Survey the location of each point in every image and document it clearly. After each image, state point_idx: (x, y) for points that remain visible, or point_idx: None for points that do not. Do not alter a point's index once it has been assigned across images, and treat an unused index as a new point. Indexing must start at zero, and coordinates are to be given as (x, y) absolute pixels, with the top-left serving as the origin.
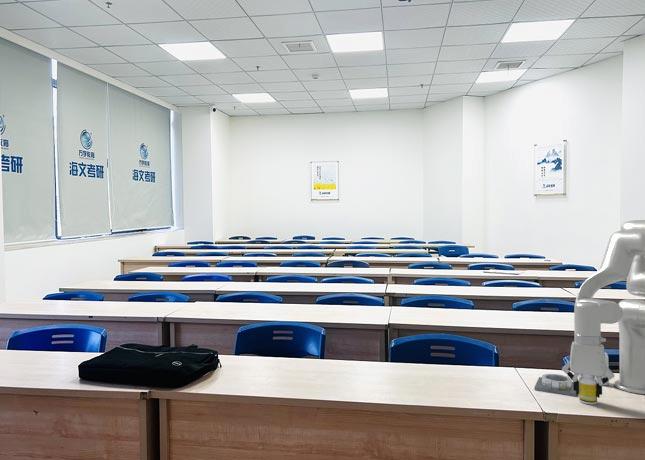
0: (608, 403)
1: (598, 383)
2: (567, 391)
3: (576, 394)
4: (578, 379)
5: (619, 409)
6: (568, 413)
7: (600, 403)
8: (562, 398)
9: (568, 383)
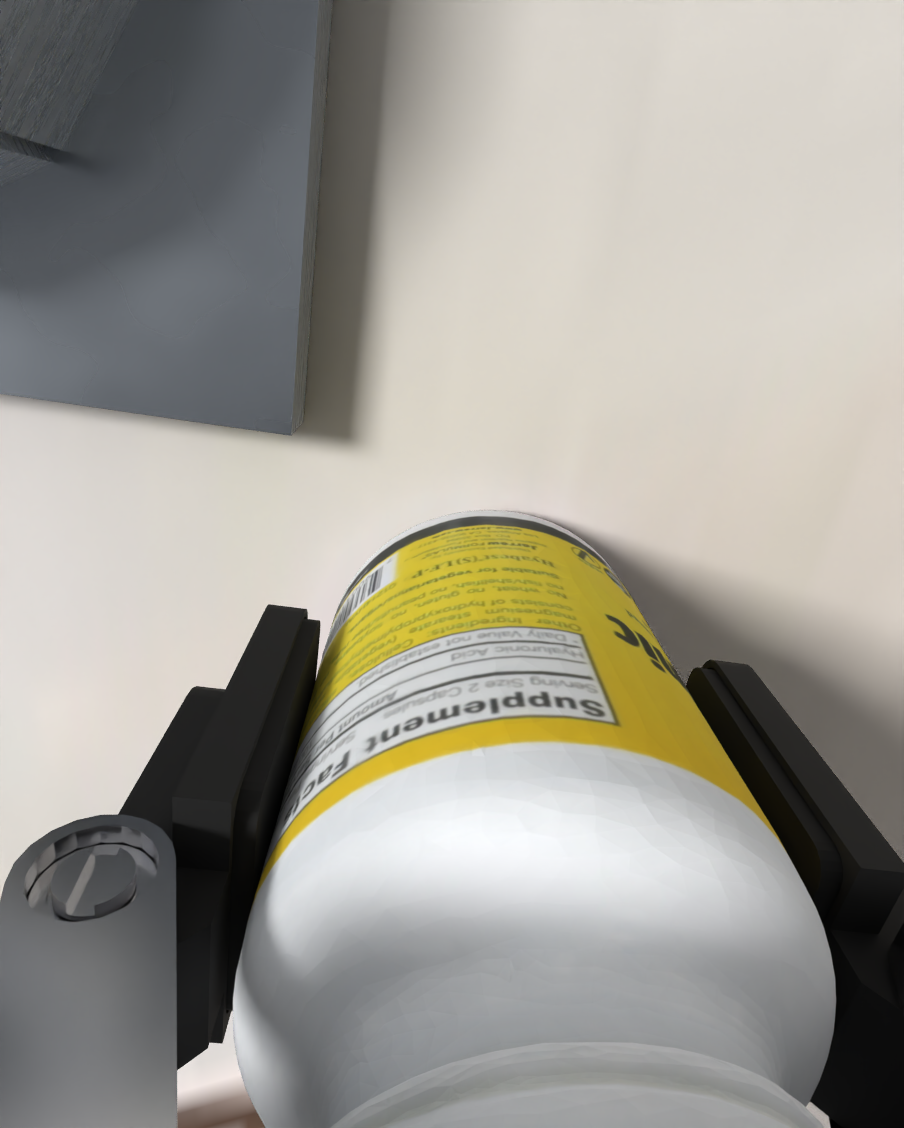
0: (825, 586)
1: (818, 1087)
2: (96, 342)
3: (304, 349)
4: (233, 1008)
5: (891, 787)
6: (207, 1092)
7: (684, 635)
8: (67, 619)
9: (4, 38)
